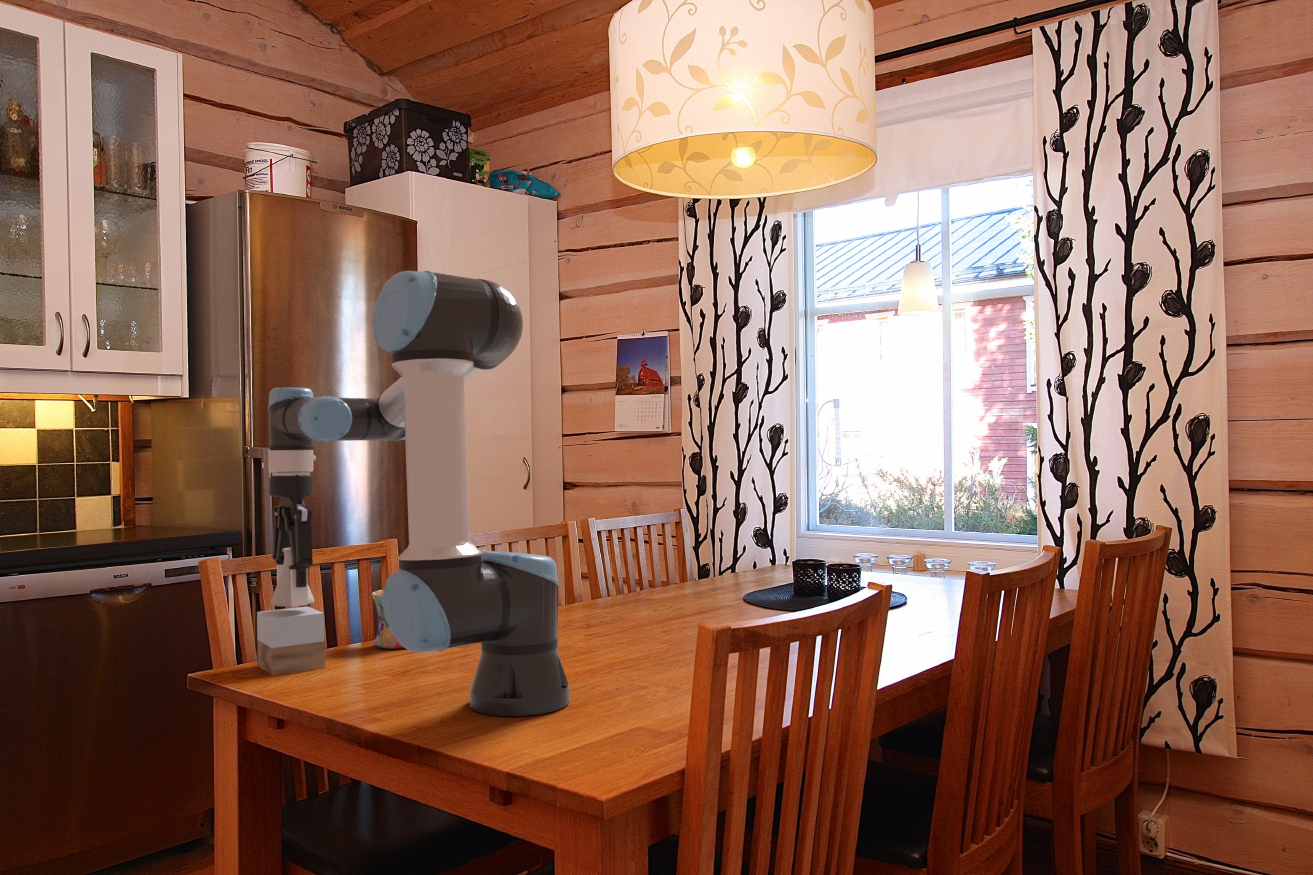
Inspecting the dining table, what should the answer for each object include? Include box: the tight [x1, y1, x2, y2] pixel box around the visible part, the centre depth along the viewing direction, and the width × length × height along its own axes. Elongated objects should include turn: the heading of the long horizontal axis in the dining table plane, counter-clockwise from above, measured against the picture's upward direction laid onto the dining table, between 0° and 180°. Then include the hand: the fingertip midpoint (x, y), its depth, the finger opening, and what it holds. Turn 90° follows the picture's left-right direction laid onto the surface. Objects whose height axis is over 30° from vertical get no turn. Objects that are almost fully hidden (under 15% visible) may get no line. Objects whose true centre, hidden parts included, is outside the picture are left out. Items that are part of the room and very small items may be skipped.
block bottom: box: [257, 640, 326, 677], centre depth 175 cm, size 9×9×5 cm
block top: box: [256, 605, 325, 648], centre depth 175 cm, size 9×9×5 cm
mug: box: [371, 589, 406, 650], centre depth 193 cm, size 12×9×11 cm
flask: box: [269, 548, 316, 608], centre depth 175 cm, size 7×7×10 cm
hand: (292, 602), depth 175 cm, fingers closed on flask, 7 cm apart
